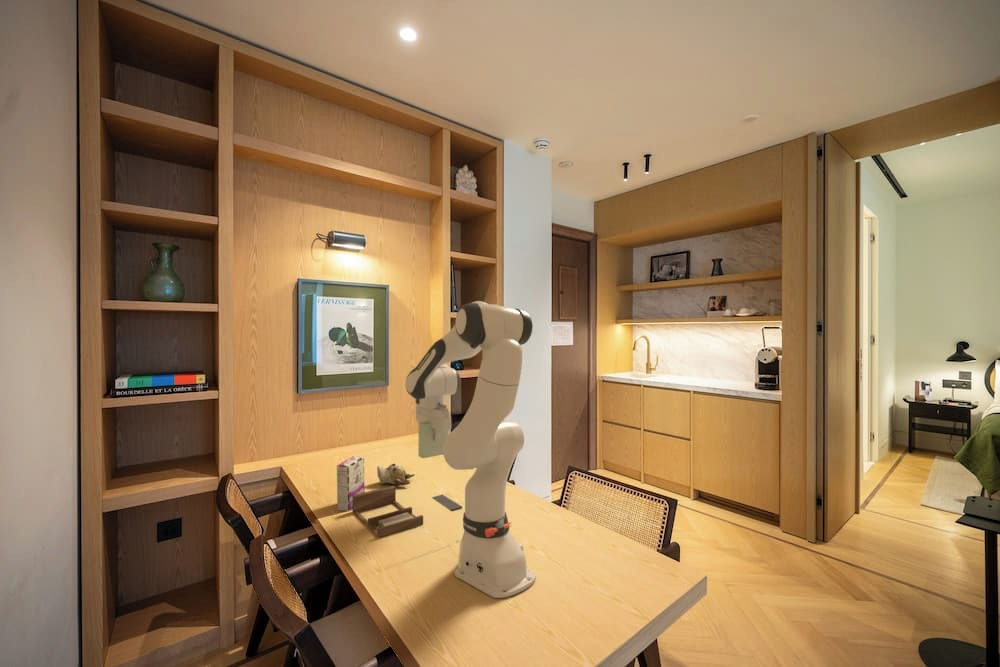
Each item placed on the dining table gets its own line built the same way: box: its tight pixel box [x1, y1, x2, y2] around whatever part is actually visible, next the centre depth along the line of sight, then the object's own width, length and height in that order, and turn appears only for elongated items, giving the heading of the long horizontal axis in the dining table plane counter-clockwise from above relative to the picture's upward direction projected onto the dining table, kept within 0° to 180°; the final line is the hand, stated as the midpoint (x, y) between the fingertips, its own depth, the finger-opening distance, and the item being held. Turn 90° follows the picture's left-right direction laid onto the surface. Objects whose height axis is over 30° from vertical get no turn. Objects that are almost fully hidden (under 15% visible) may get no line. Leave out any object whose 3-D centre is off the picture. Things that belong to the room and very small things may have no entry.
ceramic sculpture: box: [376, 463, 415, 486], centre depth 179 cm, size 11×9×15 cm
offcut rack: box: [352, 485, 424, 539], centre depth 144 cm, size 24×15×7 cm, turn 38°
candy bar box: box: [336, 455, 365, 512], centre depth 157 cm, size 11×5×16 cm, turn 168°
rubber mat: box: [431, 494, 463, 512], centre depth 156 cm, size 14×16×1 cm
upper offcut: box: [378, 512, 413, 528], centre depth 138 cm, size 6×10×2 cm, turn 130°
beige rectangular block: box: [417, 422, 449, 459], centre depth 155 cm, size 4×10×12 cm, turn 128°
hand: (433, 439), depth 155 cm, fingers closed on beige rectangular block, 3 cm apart
